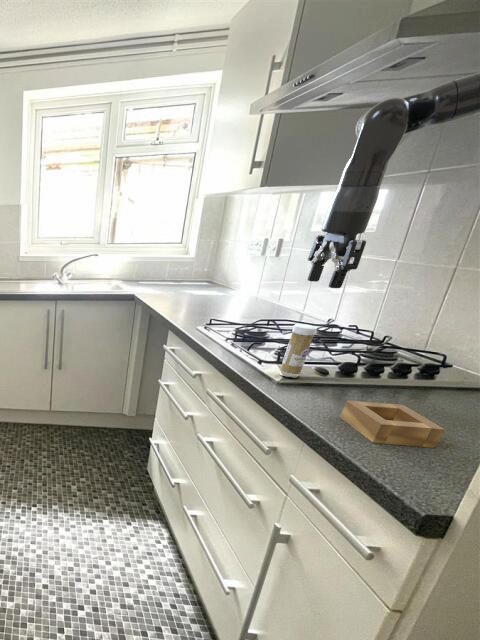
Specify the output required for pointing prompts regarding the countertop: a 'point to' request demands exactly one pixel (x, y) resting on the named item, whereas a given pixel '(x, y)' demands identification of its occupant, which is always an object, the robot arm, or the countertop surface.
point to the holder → (391, 424)
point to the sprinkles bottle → (298, 348)
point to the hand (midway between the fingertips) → (323, 284)
